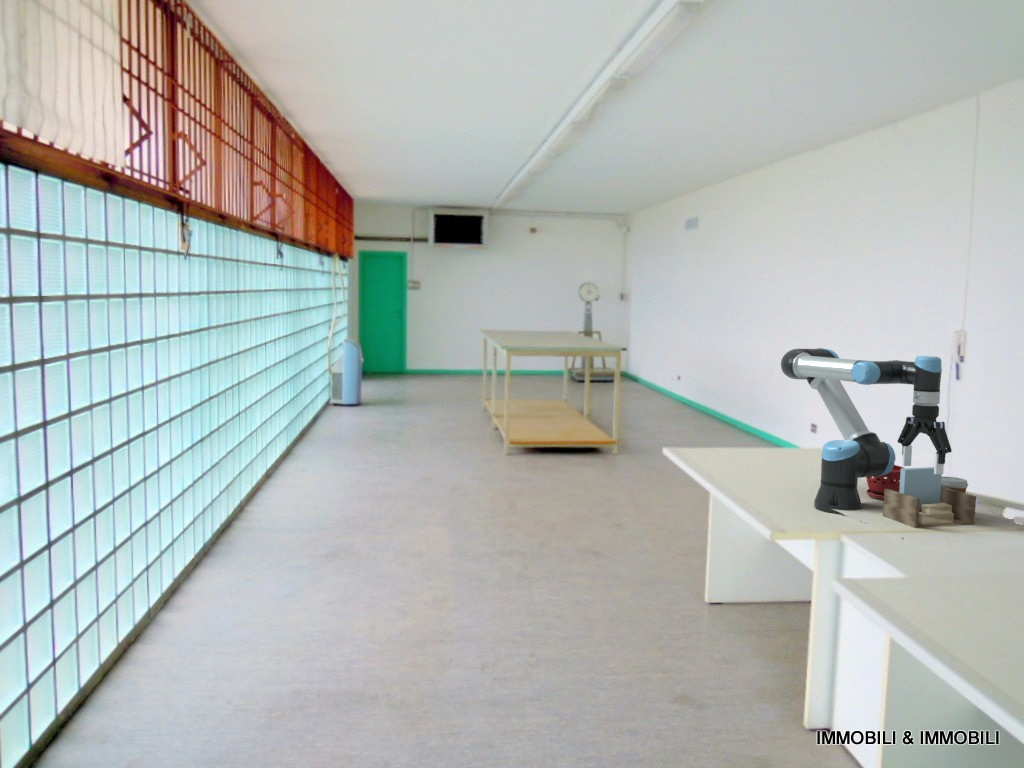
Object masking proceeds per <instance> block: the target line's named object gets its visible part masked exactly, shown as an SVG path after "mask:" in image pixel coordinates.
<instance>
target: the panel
mask: <svg viewBox="0 0 1024 768" xmlns="http://www.w3.org/2000/svg"><path fill="white" fill-rule="evenodd" d="M942 477H943V474H934V467H932V466H931V467H906V468H905V467H904V468H901V473H900V481H899V482H900V489H899V493H903V494H906V495H909V496H912V497H915V498H918V499H920V507H919V509H922V505H926V504H939V503H940V492H941V478H942Z"/></svg>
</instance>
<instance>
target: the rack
mask: <svg viewBox="0 0 1024 768" xmlns="http://www.w3.org/2000/svg"><path fill="white" fill-rule="evenodd" d="M940 503H946V504H949V505H952V513H954V521H953V523H937V524H919V523H918V522H919V512H921V511H922V509H919V507H920V499H918V498H915V497H912V496H909V495H906V494H903V493H899V492H896V491H893V490H890V489H884V500H883V508H882V509H883V510H882V517H883V518H887V519H889V520H892V521H895V522H897V523H900V524H902V525H905V526H909V527H911V528H914V529H920V528H921V529H922V528H924V529H925V528H937V527H939V528H940V527H954V526H956V527H957V526H970V525H971V526H973V525H975V518H976V508H977V507H976V504H977V496H976V495H974V494H969V493H967V492H966V493H963V492H960V491H956V490H952V489H949V488H945V487H942V486H941V492H940Z"/></svg>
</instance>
